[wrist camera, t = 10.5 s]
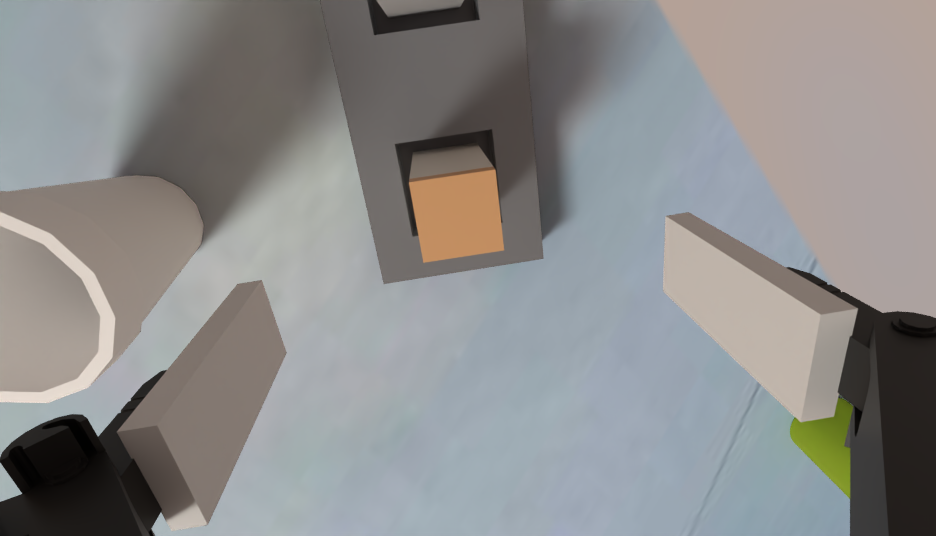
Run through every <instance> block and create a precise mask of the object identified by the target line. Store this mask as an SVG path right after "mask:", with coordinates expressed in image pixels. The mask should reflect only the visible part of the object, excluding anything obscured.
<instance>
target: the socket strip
mask: <svg viewBox="0 0 936 536" xmlns="http://www.w3.org/2000/svg"><path fill="white" fill-rule="evenodd" d="M320 3H321V8H322V12H323V16H324V21H325V25H326V30H327V34H328V39H329V43H330V47H331V52H332V56H333V61H334V65H335V70H336V74H337V78H338V83H339V87H340V92H341V96H342V101H343V105H344V110H345V114H346V118H347V123H348V127H349V132H350V136H351V141H352V145H353V149H354V154H355V158H356V163H357V167H358V172H359V176H360V180H361V185H362V189H363V194H364V198H365V203H366V207H367V211H368V216H369V220H370V225H371V229H372V234H373V238H374V243H375V247H376V251H377V256H378V260H379V265H380V269H381V274H382V278H383V282H384V284H386V283H393V282H399V281H405V280H412V279H418V278H424V277H430V276H437V275H443V274H449V273H456V272H462V271H468V270H475V269H481V268H487V267H494V266H500V265H506V264H513V263H519V262H525V261H532V260H538V259H543V246H542V234H541V221H540V209H539V196H538V184H537V171H536V159H535V146H534V134H533V121H532V109H531V96H530V84H529V71H528V59H527V46H526V33H525V21H524V8H523V0H464V1H463V3H462V5H461V6H460V8H456V9H449V10H442V11H435V12H428V13H421V14H415V15H408V16H401V17H394V18H388V16H387V15H386V13H385V12H384V11H383V9H382V8H381V6H380V5H379V4H378V2H377V1H376V0H320ZM472 143H477V144H478V145H479V147H480V148H481V150H482V151H483V153H484V154H485V155H486V157H487V158H488V160H489V161H490V162H491V164H492V165H493V167H494V168H495V170H496V180H497V189H498V198H499V207H500V216H501V225H502V235H503V244H504V250H503V251H497V252H490V253H484V254H477V255H471V256H464V257H458V258H451V259H445V260H438V261H432V262H425V263H423V258H422V252H421V247H420V241H419V236H418V230H417V225H416V219H415V214H414V208H413V203H412V197H411V192H410V186H409V177H410V170H411V163H412V155H413V152H418V151H424V150H431V149H438V148H445V147H452V146H458V145H465V144H472Z"/></svg>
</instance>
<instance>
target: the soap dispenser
mask: <svg viewBox="0 0 936 536" xmlns="http://www.w3.org/2000/svg"><path fill="white" fill-rule="evenodd" d="M852 410H853V406H852V405H851V404H850V403H848V402H847V401H846V400H844V399H841V398H838V400H837V405H836V409H835V414H834V417H829V418H823V419H817V420H811V421H806V422H800V421H799V420H798V419H797V418H796V417H795V418H794V420H793V422H792V424H791V428H790V435H791V438H792V440H793V442H794V443H795V444H796V445H797V446H798V447H799V448H800V449H801V450H802V451H803V452H804V453H805V454H806V455H807V456H808V457H809V458H810V459H811V460H812V461H813V462H814V463H815V464H816V465H817V466H818V467H819V468H820V469H821V470H822V471H823V472H824V473H825V474H826V475H827V476H828V477H829V478H830V479H831V480H832V481H833V482H834V483H835V484H836V485H837V486H838V487H839V488H840V489H841V490H842V491H843V492H844V493H845V494H846V495H847V496H848V497H849V498H850V448H849V447H845V446H844V444H845V439H846V435H847V431H848V427H849V423H850V419H851V414H852Z"/></svg>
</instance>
